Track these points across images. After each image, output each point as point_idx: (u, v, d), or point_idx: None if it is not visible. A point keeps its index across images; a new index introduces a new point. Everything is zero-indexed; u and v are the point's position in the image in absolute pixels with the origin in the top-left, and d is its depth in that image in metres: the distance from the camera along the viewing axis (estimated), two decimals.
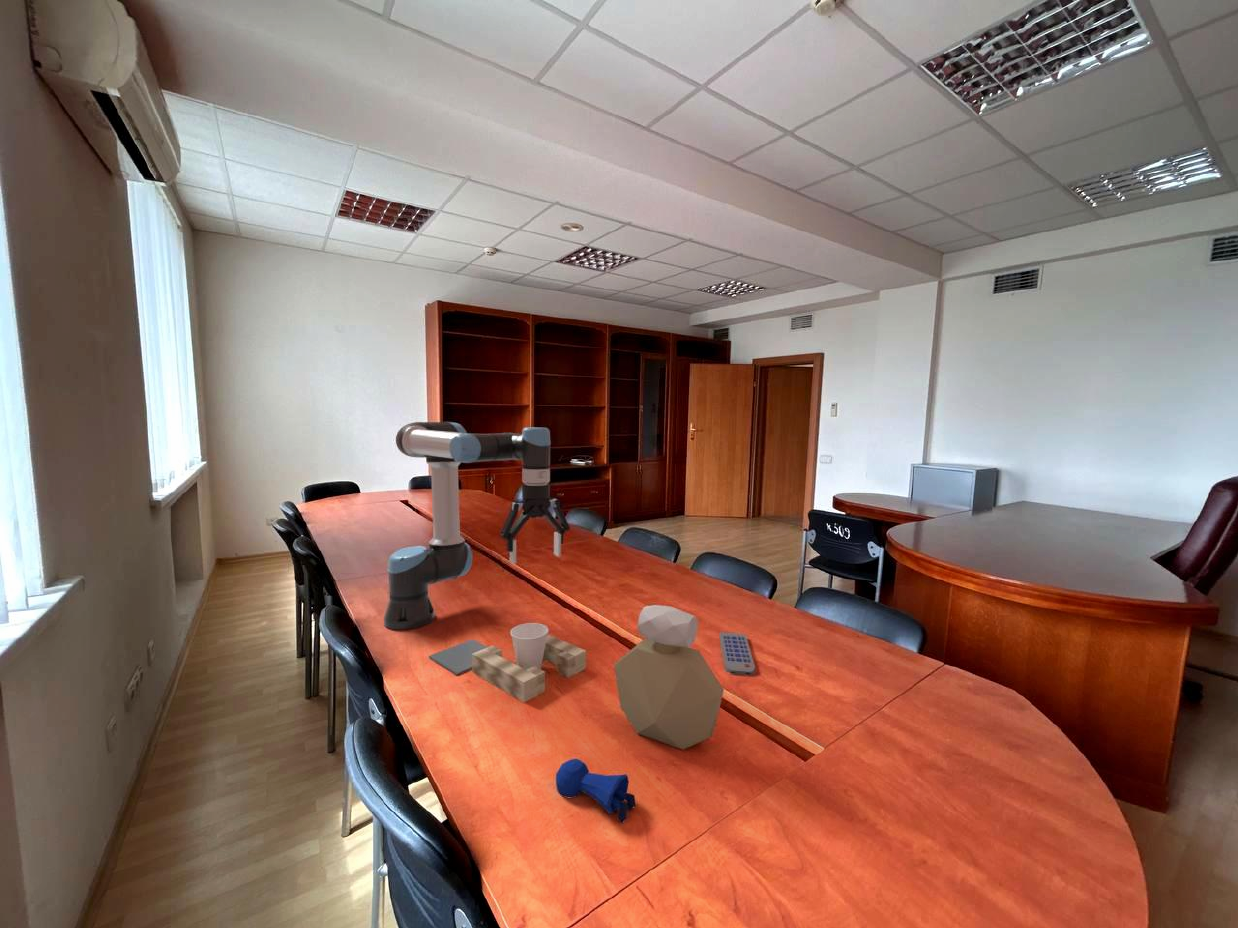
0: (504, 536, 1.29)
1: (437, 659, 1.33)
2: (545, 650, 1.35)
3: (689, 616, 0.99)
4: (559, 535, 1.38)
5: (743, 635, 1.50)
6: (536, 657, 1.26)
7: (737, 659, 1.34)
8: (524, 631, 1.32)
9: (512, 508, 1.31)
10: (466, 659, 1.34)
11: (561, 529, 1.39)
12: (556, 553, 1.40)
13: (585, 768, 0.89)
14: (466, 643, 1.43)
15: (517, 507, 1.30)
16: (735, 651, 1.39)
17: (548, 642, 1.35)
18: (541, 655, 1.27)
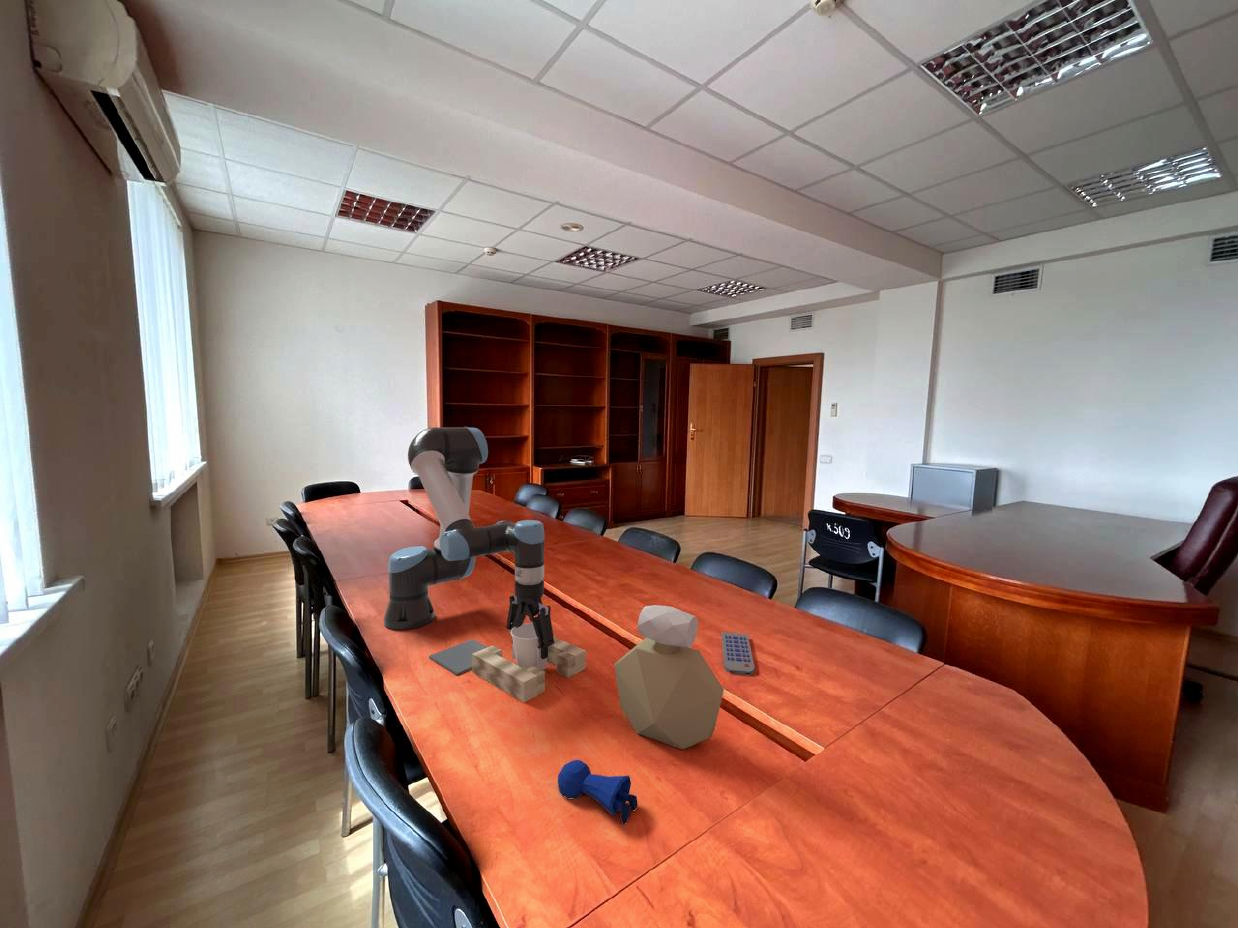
0: (506, 627, 1.32)
1: (437, 659, 1.33)
2: None
3: (689, 616, 0.99)
4: (537, 648, 1.24)
5: (745, 635, 1.50)
6: (536, 657, 1.26)
7: (737, 659, 1.34)
8: (524, 631, 1.32)
9: None
10: (466, 659, 1.34)
11: (540, 642, 1.24)
12: None
13: (587, 769, 0.88)
14: (466, 643, 1.43)
15: (511, 600, 1.30)
16: (736, 651, 1.39)
17: None
18: None
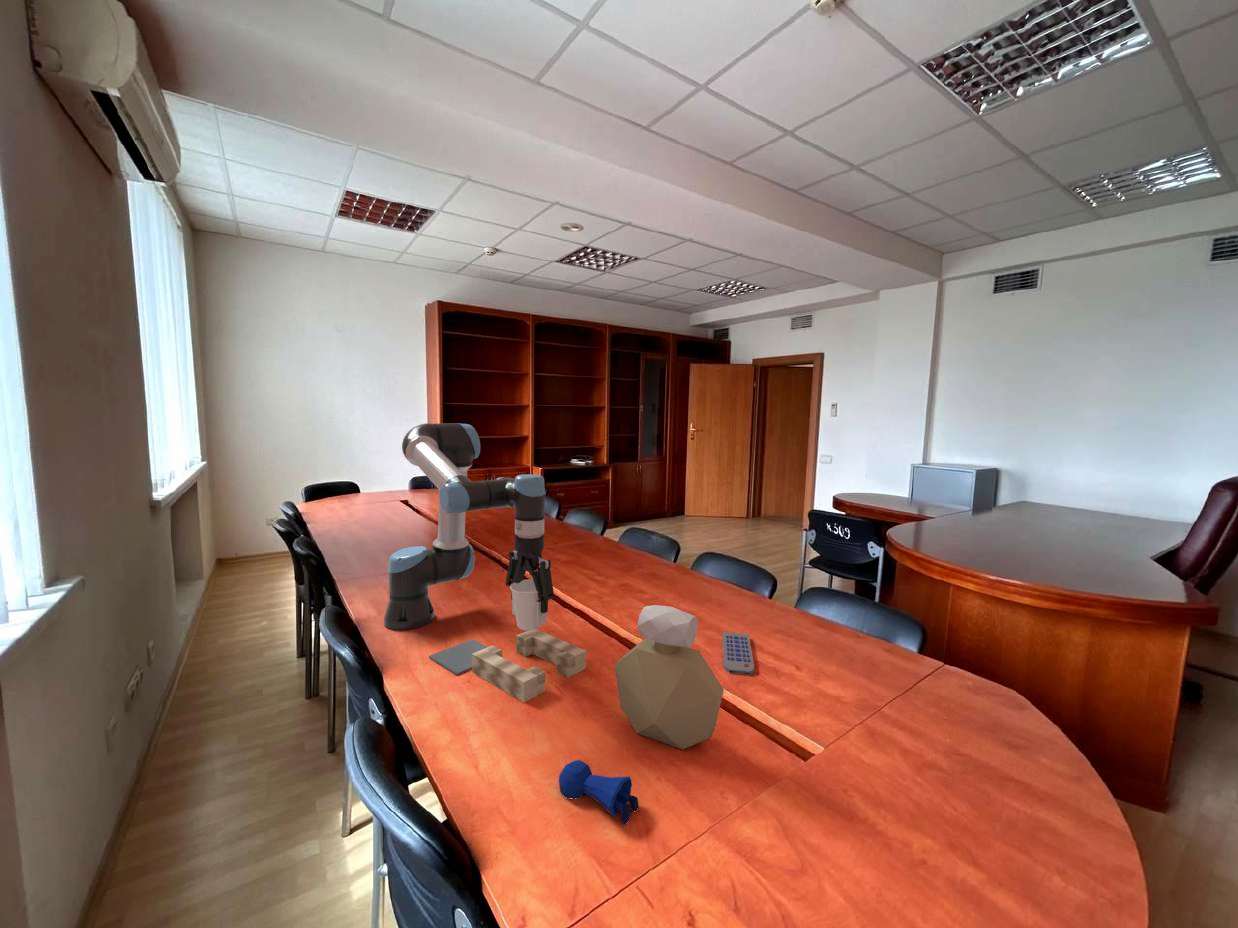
0: (506, 583, 1.31)
1: (437, 659, 1.33)
2: (545, 650, 1.35)
3: (689, 616, 0.99)
4: (537, 602, 1.24)
5: (746, 635, 1.50)
6: (536, 612, 1.25)
7: (737, 659, 1.34)
8: (524, 587, 1.31)
9: None
10: (466, 659, 1.34)
11: (540, 596, 1.23)
12: None
13: (588, 770, 0.88)
14: (466, 643, 1.43)
15: (510, 555, 1.29)
16: (736, 651, 1.39)
17: (548, 642, 1.35)
18: None
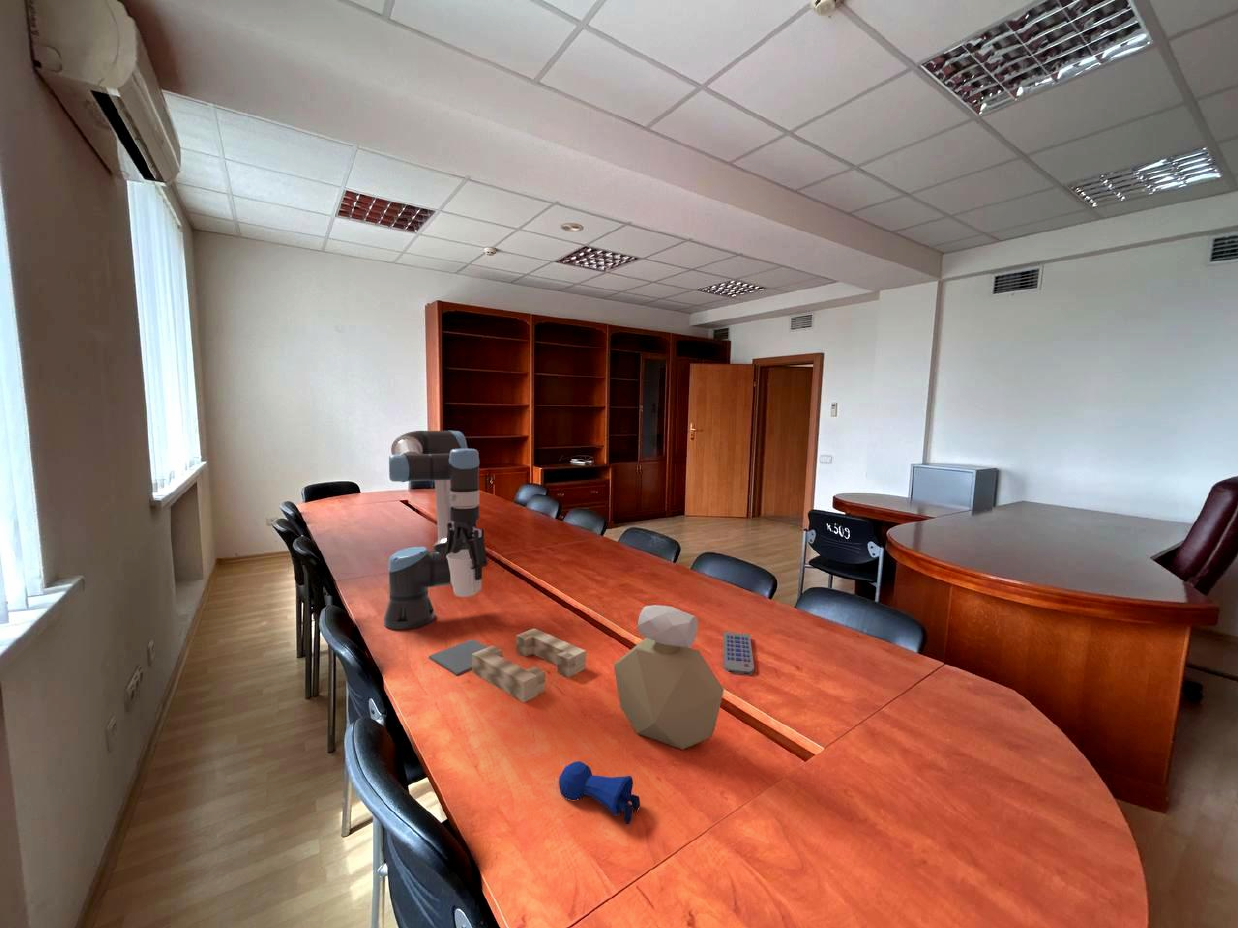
0: (445, 553, 1.37)
1: (437, 659, 1.33)
2: (545, 650, 1.35)
3: (689, 616, 0.99)
4: (471, 569, 1.30)
5: (747, 635, 1.50)
6: None
7: (737, 658, 1.34)
8: (462, 557, 1.37)
9: None
10: (466, 659, 1.34)
11: (473, 564, 1.29)
12: None
13: (588, 770, 0.88)
14: (466, 643, 1.43)
15: (448, 526, 1.35)
16: (736, 651, 1.39)
17: (548, 642, 1.35)
18: None
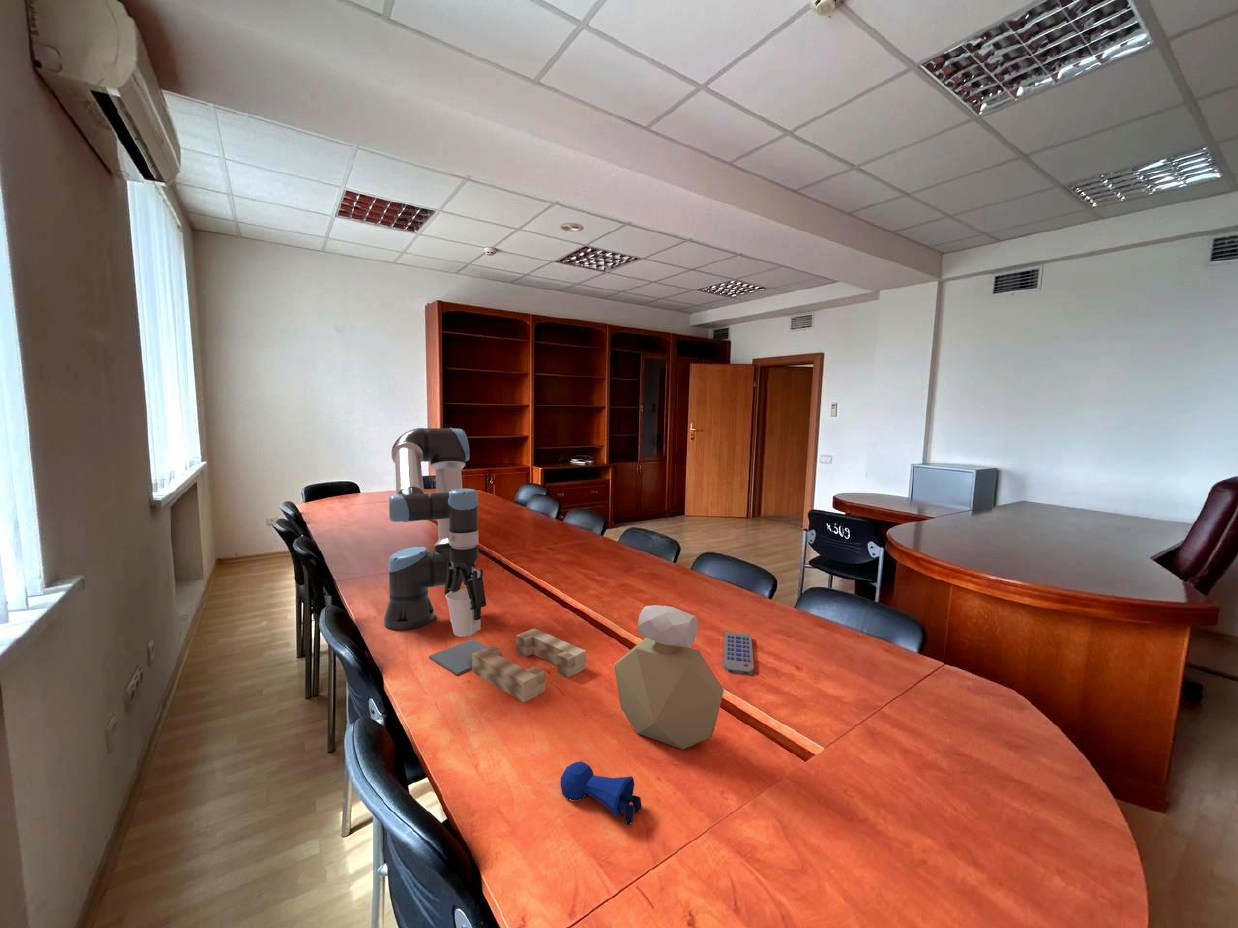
0: (444, 592, 1.38)
1: (437, 659, 1.33)
2: (545, 650, 1.35)
3: (689, 616, 0.99)
4: (470, 609, 1.30)
5: (748, 635, 1.50)
6: None
7: (737, 658, 1.34)
8: (461, 595, 1.38)
9: None
10: (466, 659, 1.34)
11: (472, 604, 1.30)
12: None
13: (590, 771, 0.88)
14: (466, 643, 1.43)
15: (448, 566, 1.36)
16: (736, 651, 1.39)
17: (548, 642, 1.35)
18: None
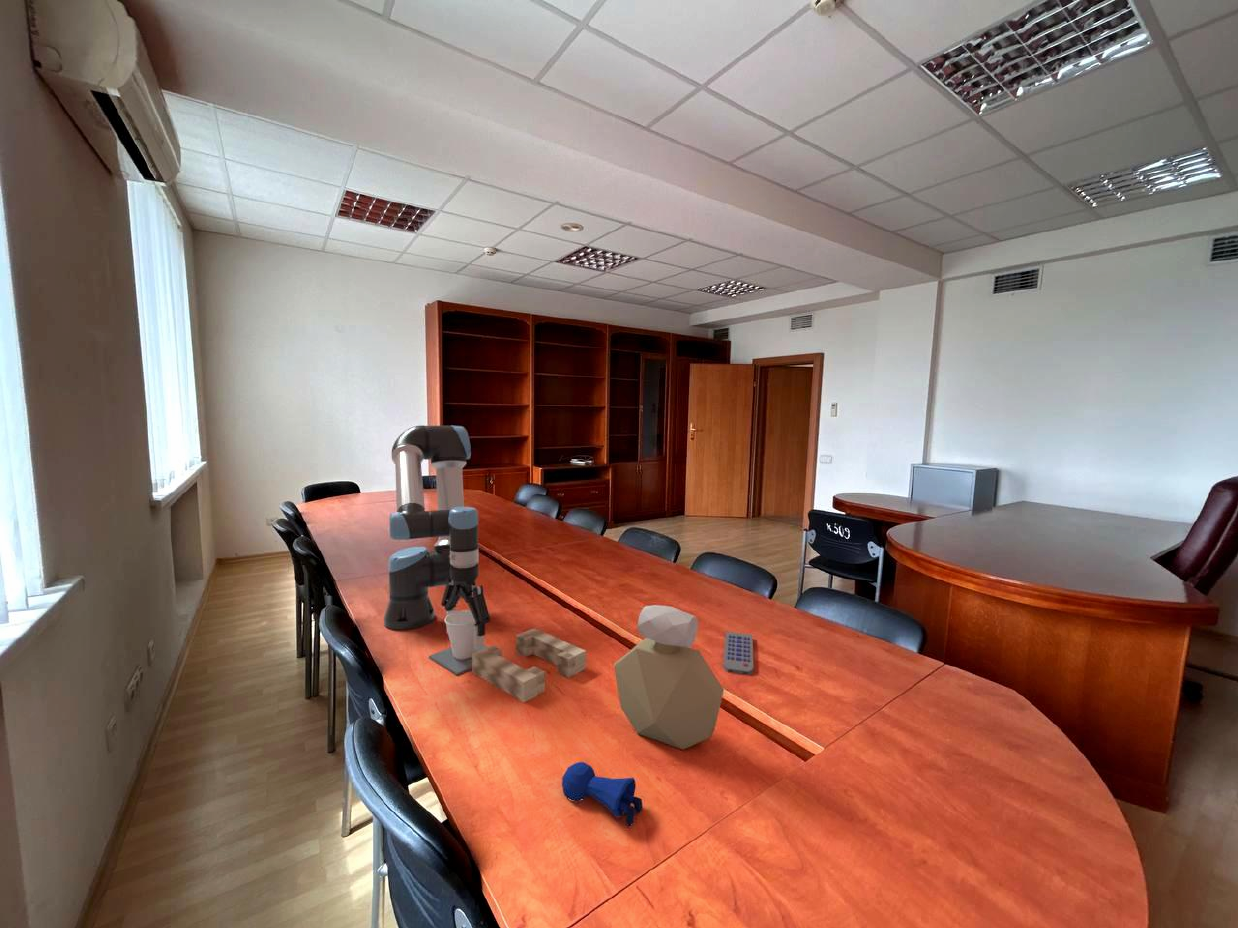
0: (441, 603, 1.40)
1: (437, 659, 1.33)
2: (545, 650, 1.35)
3: (689, 616, 0.99)
4: (474, 625, 1.30)
5: (749, 635, 1.50)
6: (469, 642, 1.32)
7: (737, 658, 1.34)
8: (461, 617, 1.39)
9: None
10: (466, 659, 1.34)
11: (476, 620, 1.29)
12: None
13: (591, 771, 0.88)
14: None
15: (448, 581, 1.37)
16: (737, 650, 1.39)
17: (548, 642, 1.35)
18: None
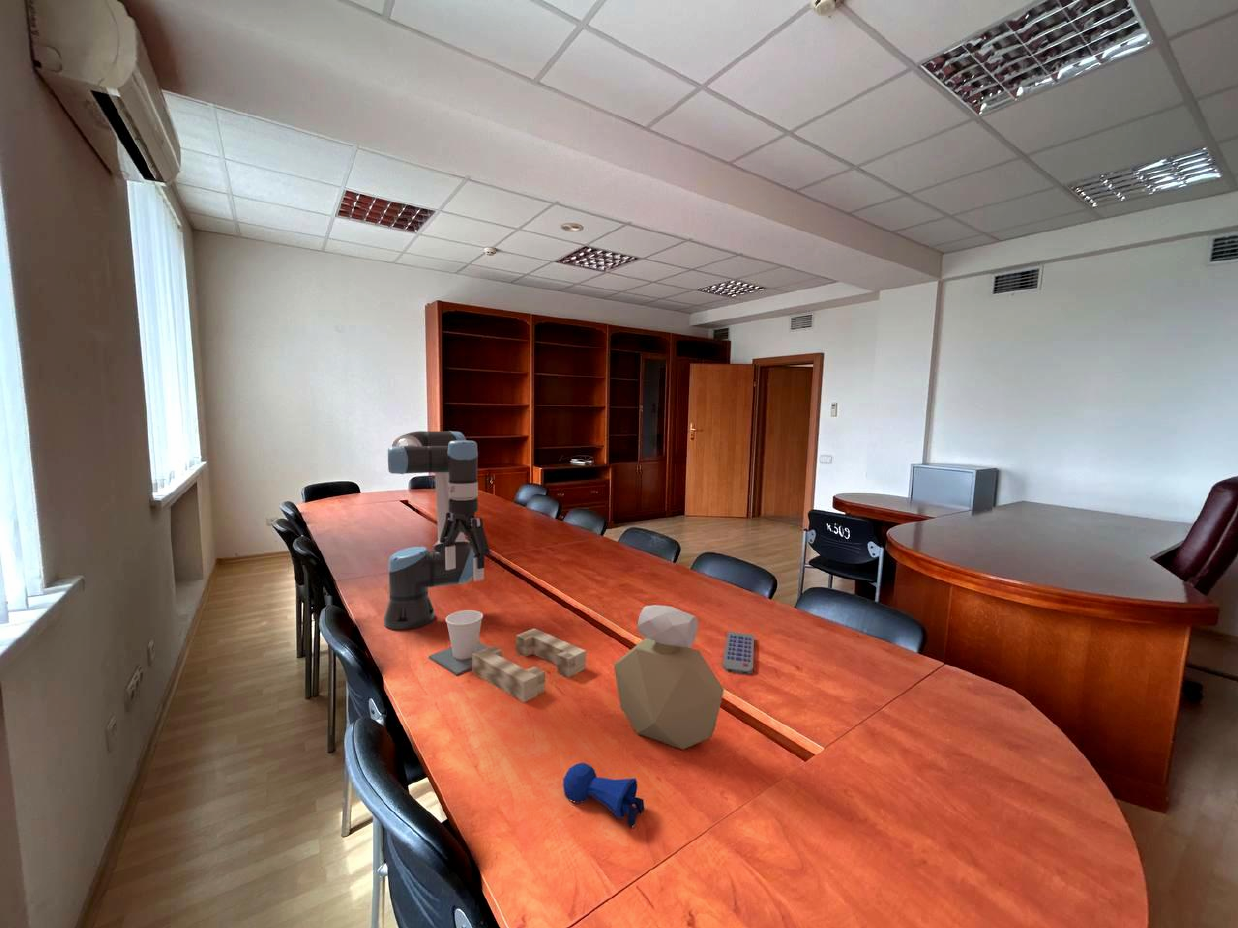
0: (440, 540, 1.38)
1: (437, 659, 1.33)
2: (545, 650, 1.35)
3: (689, 616, 0.99)
4: (474, 558, 1.28)
5: (751, 635, 1.49)
6: (470, 642, 1.32)
7: (737, 658, 1.35)
8: (461, 618, 1.39)
9: None
10: (466, 659, 1.34)
11: (476, 552, 1.28)
12: None
13: (593, 772, 0.87)
14: None
15: (447, 516, 1.35)
16: (737, 650, 1.39)
17: (548, 642, 1.35)
18: (475, 640, 1.34)
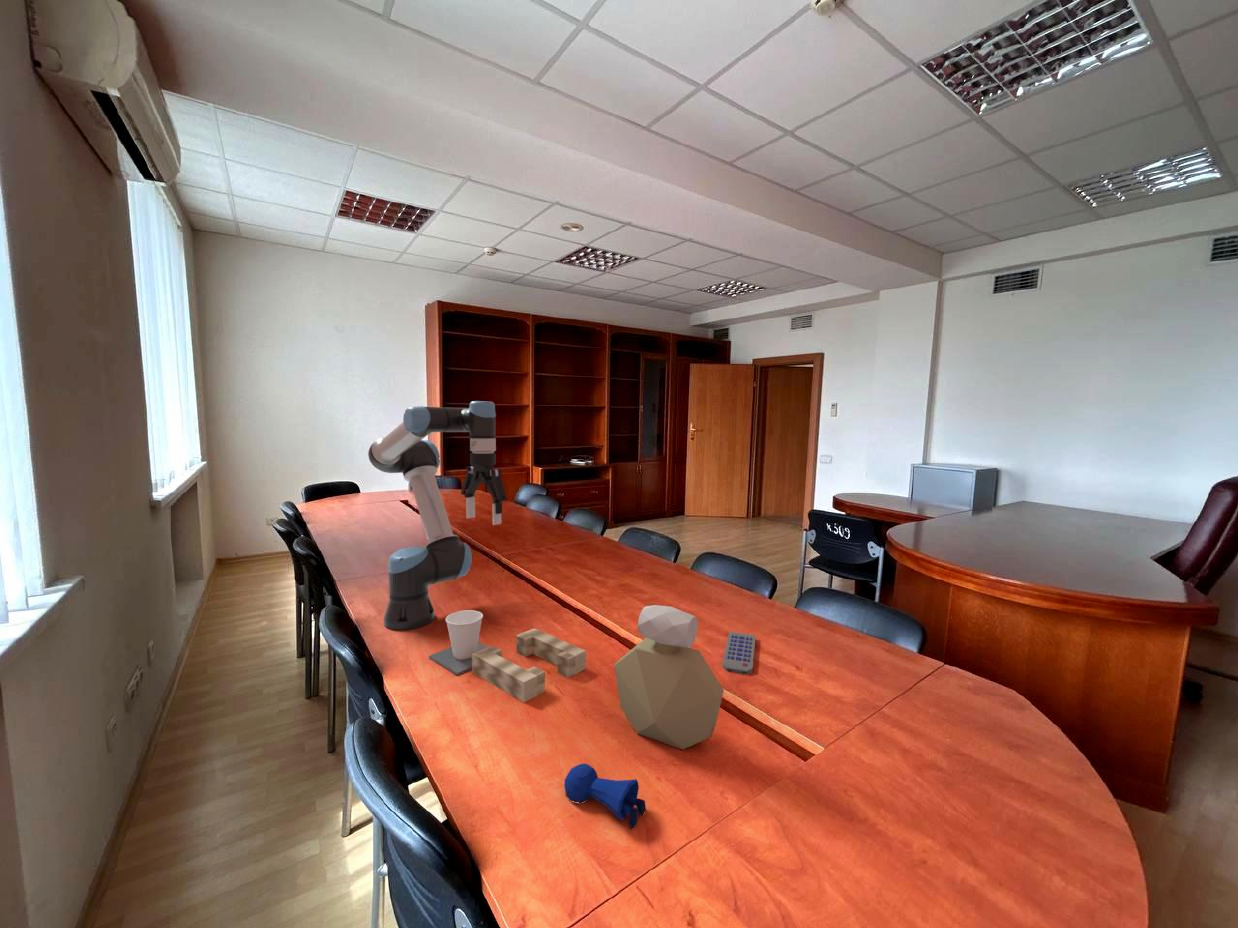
0: (461, 492, 1.55)
1: (437, 659, 1.33)
2: (545, 650, 1.35)
3: (689, 616, 0.99)
4: (493, 504, 1.45)
5: (752, 635, 1.49)
6: (470, 642, 1.32)
7: (737, 658, 1.35)
8: (461, 618, 1.39)
9: None
10: (466, 659, 1.34)
11: (494, 499, 1.44)
12: None
13: (594, 773, 0.87)
14: None
15: (468, 470, 1.52)
16: (738, 650, 1.39)
17: (548, 642, 1.35)
18: (475, 640, 1.34)
